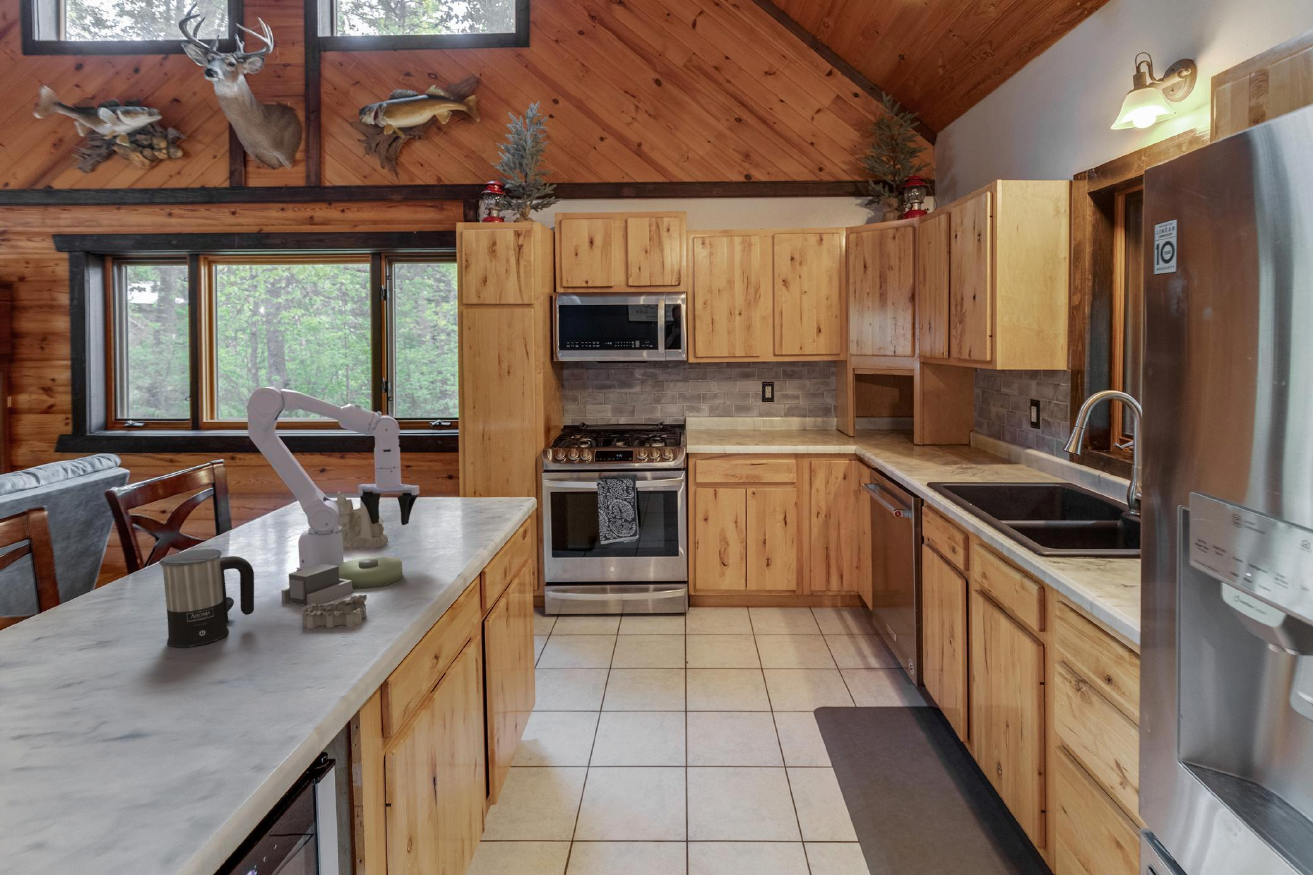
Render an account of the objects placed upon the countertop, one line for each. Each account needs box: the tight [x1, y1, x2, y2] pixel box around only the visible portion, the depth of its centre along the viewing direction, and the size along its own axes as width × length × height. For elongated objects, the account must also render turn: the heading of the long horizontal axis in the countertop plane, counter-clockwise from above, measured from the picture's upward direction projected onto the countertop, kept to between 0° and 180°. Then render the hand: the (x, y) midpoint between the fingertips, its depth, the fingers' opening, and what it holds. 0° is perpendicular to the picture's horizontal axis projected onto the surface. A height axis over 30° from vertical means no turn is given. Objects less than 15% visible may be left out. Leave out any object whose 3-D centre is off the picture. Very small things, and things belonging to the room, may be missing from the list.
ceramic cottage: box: [332, 490, 389, 550], centre depth 193 cm, size 16×16×15 cm
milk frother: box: [158, 548, 255, 648], centre depth 130 cm, size 14×16×15 cm
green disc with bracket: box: [280, 556, 403, 605], centre depth 156 cm, size 14×26×4 cm, turn 156°
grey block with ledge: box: [288, 564, 339, 607], centre depth 148 cm, size 8×5×6 cm, turn 156°
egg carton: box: [300, 594, 368, 629], centre depth 135 cm, size 11×8×4 cm
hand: (390, 523), depth 173 cm, fingers open, 7 cm apart
